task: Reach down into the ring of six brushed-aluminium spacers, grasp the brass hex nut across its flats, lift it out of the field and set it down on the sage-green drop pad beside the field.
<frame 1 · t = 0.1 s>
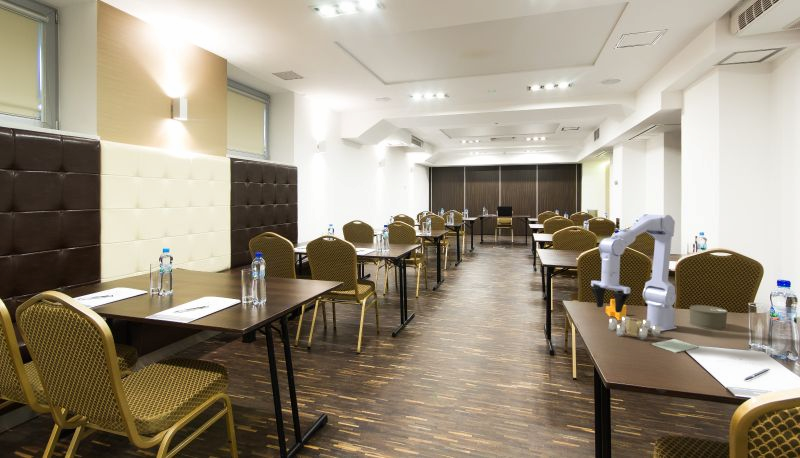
hand: (609, 309, 145), 10 cm above the table, fingers open, 7 cm apart
brass nut: (633, 333, 150), on the table
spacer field: (633, 333, 150), on the table
drop pad: (675, 346, 136), on the table
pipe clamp: (615, 317, 172), on the table
can: (707, 326, 160), on the table
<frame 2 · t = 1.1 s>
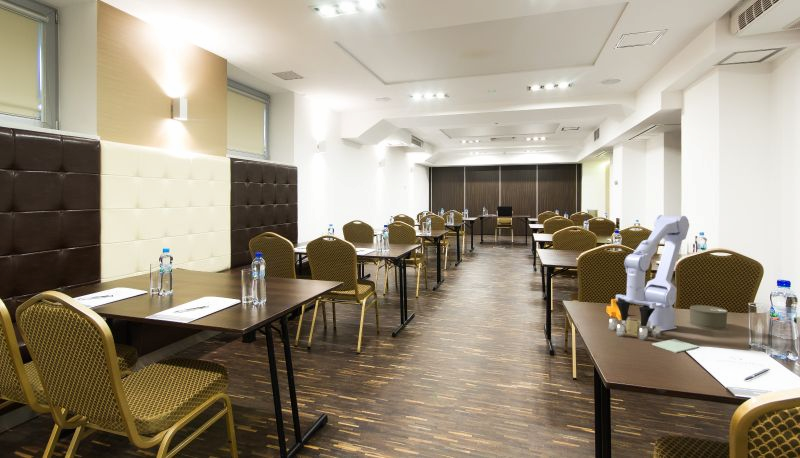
hand: (633, 322, 150), 4 cm above the table, fingers open, 7 cm apart
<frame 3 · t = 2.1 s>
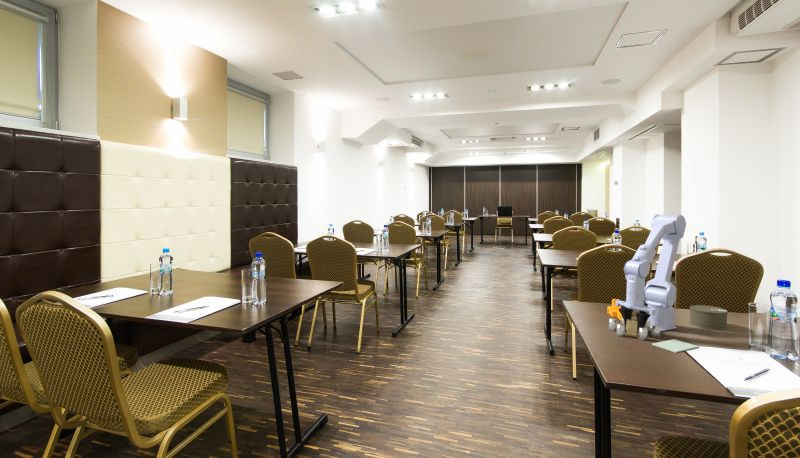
hand: (633, 329, 150), 1 cm above the table, fingers closed on brass nut, 4 cm apart
brass nut: (633, 333, 150), on the table, touching gripper
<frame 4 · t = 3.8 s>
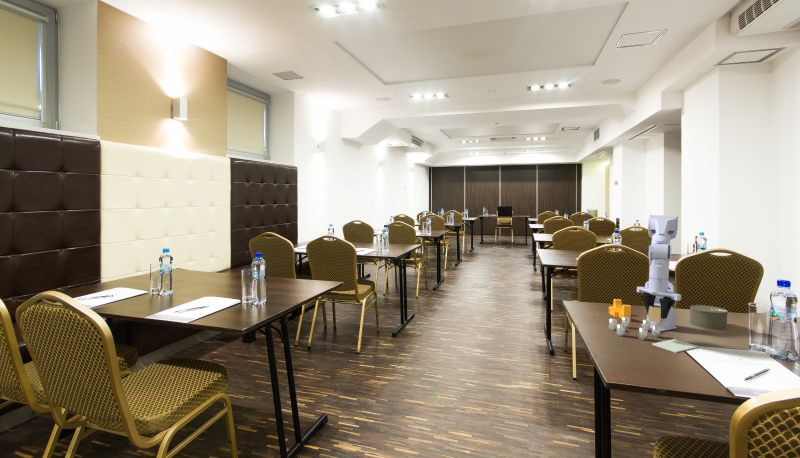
hand: (656, 316, 142), 8 cm above the table, fingers closed on brass nut, 4 cm apart
brass nut: (656, 320, 142), point 7 cm above the table, touching gripper
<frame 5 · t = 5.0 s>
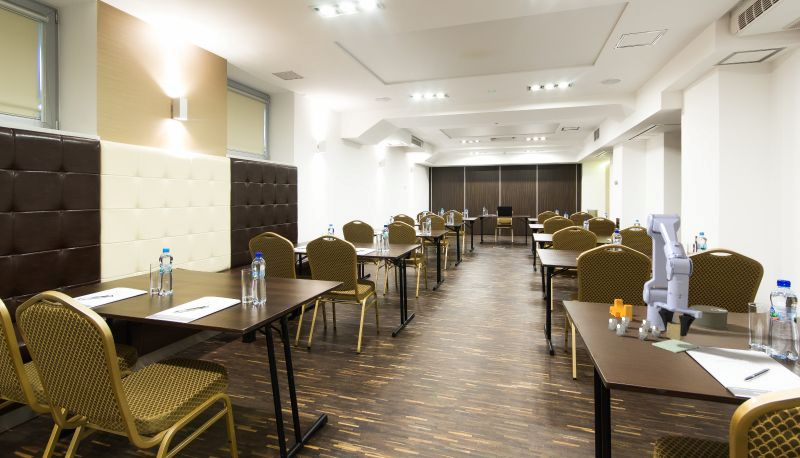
hand: (675, 333, 136), 4 cm above the table, fingers closed on brass nut, 4 cm apart
brass nut: (675, 337, 136), point 3 cm above the table, touching gripper
when the fingers open (3 cm above the table, at t = 5.8 s): brass nut stays where it is, resting on drop pad.
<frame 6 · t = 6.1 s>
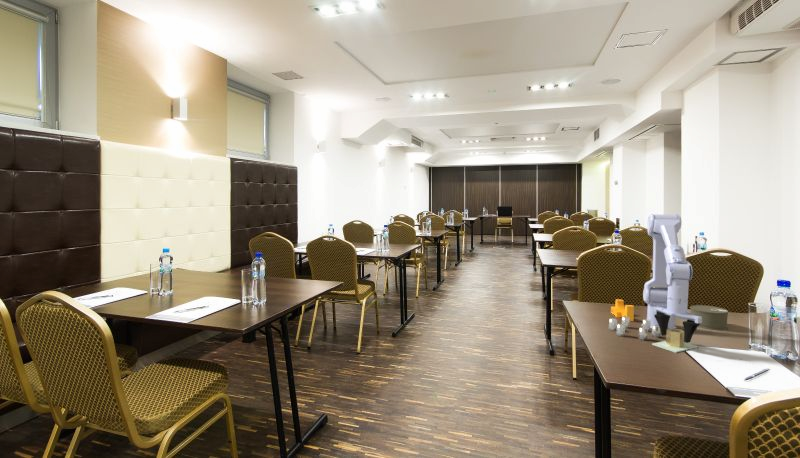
hand: (675, 338, 136), 3 cm above the table, fingers open, 7 cm apart
brass nut: (675, 345, 136), resting on drop pad
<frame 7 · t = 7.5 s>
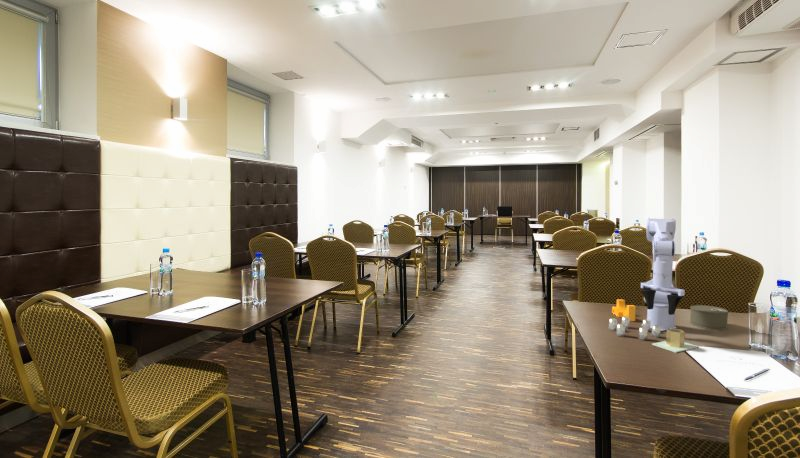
hand: (660, 311, 145), 9 cm above the table, fingers open, 7 cm apart
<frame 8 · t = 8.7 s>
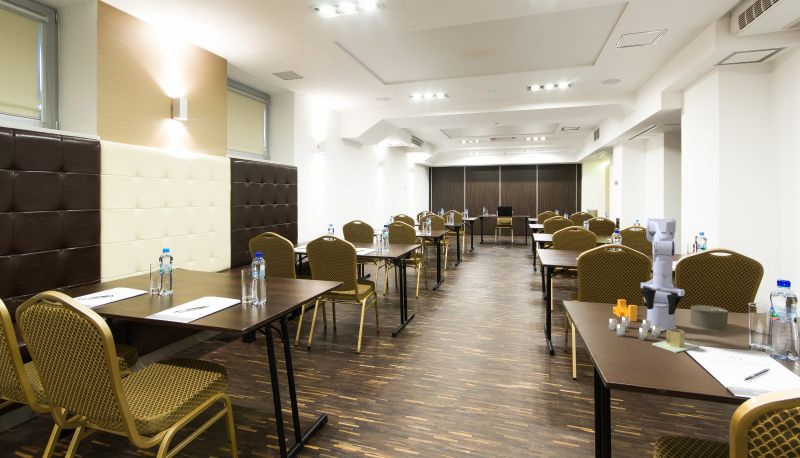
hand: (660, 311, 145), 9 cm above the table, fingers open, 7 cm apart
at the end: brass nut inside the target area (0.1 cm from its centre), resting on drop pad; brass nut tilted 0°; the gripper is holding nothing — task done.
